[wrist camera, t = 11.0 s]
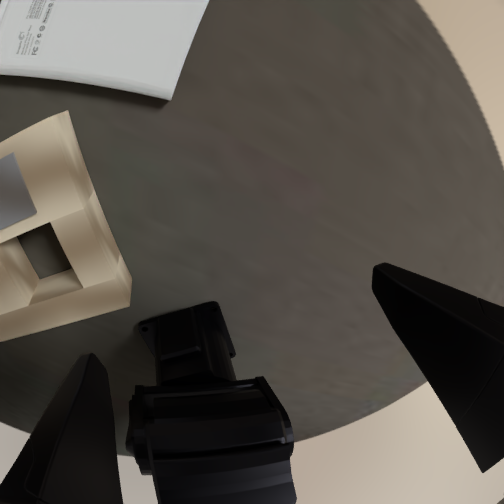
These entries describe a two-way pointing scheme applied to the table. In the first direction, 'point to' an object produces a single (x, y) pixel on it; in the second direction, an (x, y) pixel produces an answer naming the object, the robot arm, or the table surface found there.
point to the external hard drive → (100, 41)
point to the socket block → (65, 226)
